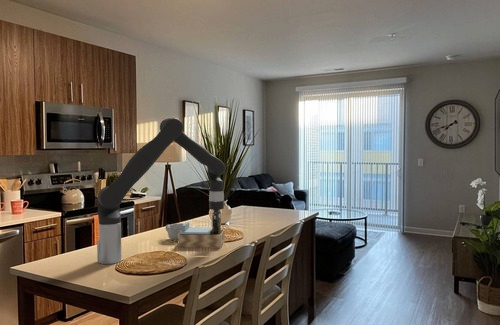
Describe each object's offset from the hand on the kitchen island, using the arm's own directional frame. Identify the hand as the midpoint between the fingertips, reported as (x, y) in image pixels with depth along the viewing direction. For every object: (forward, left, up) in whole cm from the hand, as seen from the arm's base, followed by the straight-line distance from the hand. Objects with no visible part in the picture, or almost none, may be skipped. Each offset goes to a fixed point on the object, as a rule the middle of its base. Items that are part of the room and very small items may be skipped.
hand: (216, 232), depth 193 cm
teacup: (-25, +13, -7) cm, 29 cm away
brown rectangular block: (0, 0, -6) cm, 6 cm away
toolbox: (-8, 0, -7) cm, 10 cm away
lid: (-10, 0, +1) cm, 10 cm away
